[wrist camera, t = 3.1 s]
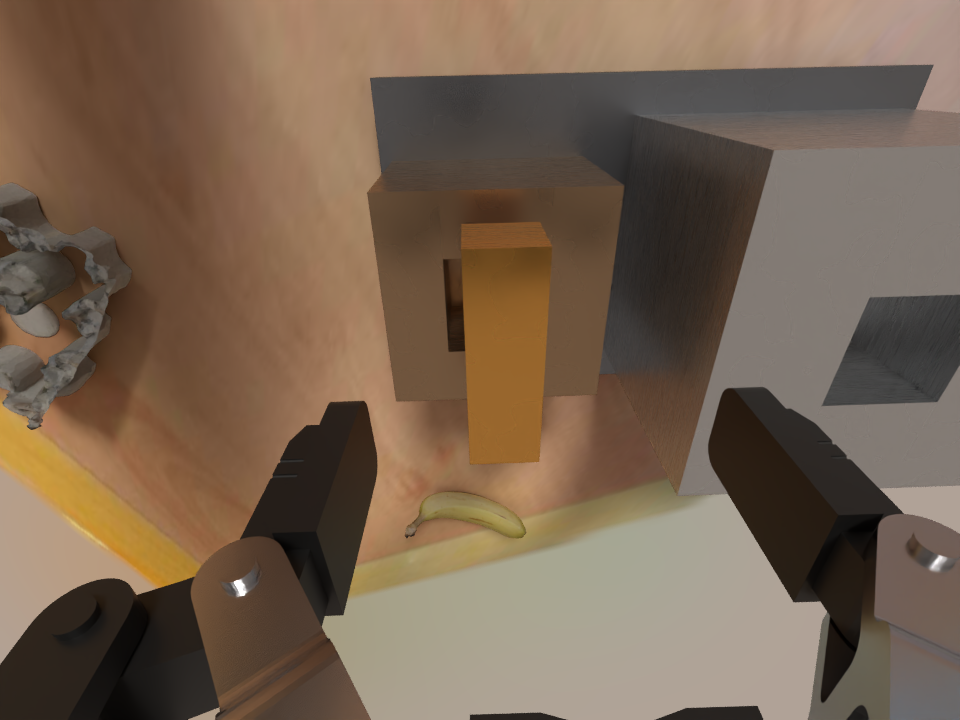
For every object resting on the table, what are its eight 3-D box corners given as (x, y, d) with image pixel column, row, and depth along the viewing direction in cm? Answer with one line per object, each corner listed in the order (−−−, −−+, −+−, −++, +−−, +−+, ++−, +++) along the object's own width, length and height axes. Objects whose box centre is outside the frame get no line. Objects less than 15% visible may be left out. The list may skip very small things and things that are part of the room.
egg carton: (90, 393, 28) (35, 441, 24) (-62, 321, 25) (-148, 363, 21) (158, 256, 23) (104, 290, 20) (-17, 152, 21) (-113, 170, 17)
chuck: (409, 365, 27) (377, 535, 17) (376, 77, 19) (287, 83, 10) (794, 353, 27) (981, 513, 17) (903, 65, 20) (1335, 59, 10)
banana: (407, 494, 32) (400, 544, 29) (414, 476, 31) (408, 526, 28) (518, 518, 34) (524, 569, 30) (528, 502, 33) (535, 552, 30)
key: (514, 337, 22) (539, 461, 15) (467, 339, 22) (470, 464, 15) (518, 179, 18) (552, 246, 11) (461, 181, 18) (460, 249, 11)
